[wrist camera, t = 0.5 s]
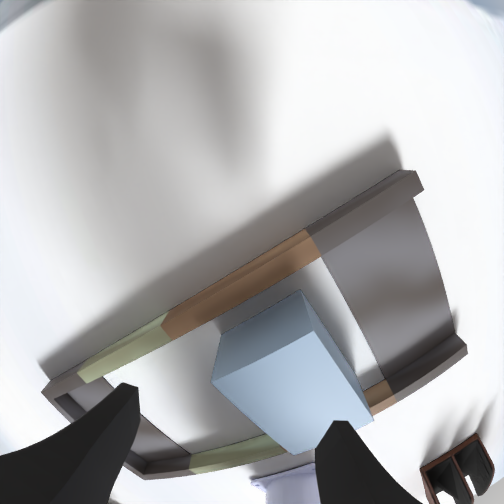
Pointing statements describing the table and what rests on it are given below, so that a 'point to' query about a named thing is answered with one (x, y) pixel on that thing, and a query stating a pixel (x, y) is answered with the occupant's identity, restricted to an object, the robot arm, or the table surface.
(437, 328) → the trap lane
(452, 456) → the letter holder
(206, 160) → the table surface
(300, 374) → the blue block
